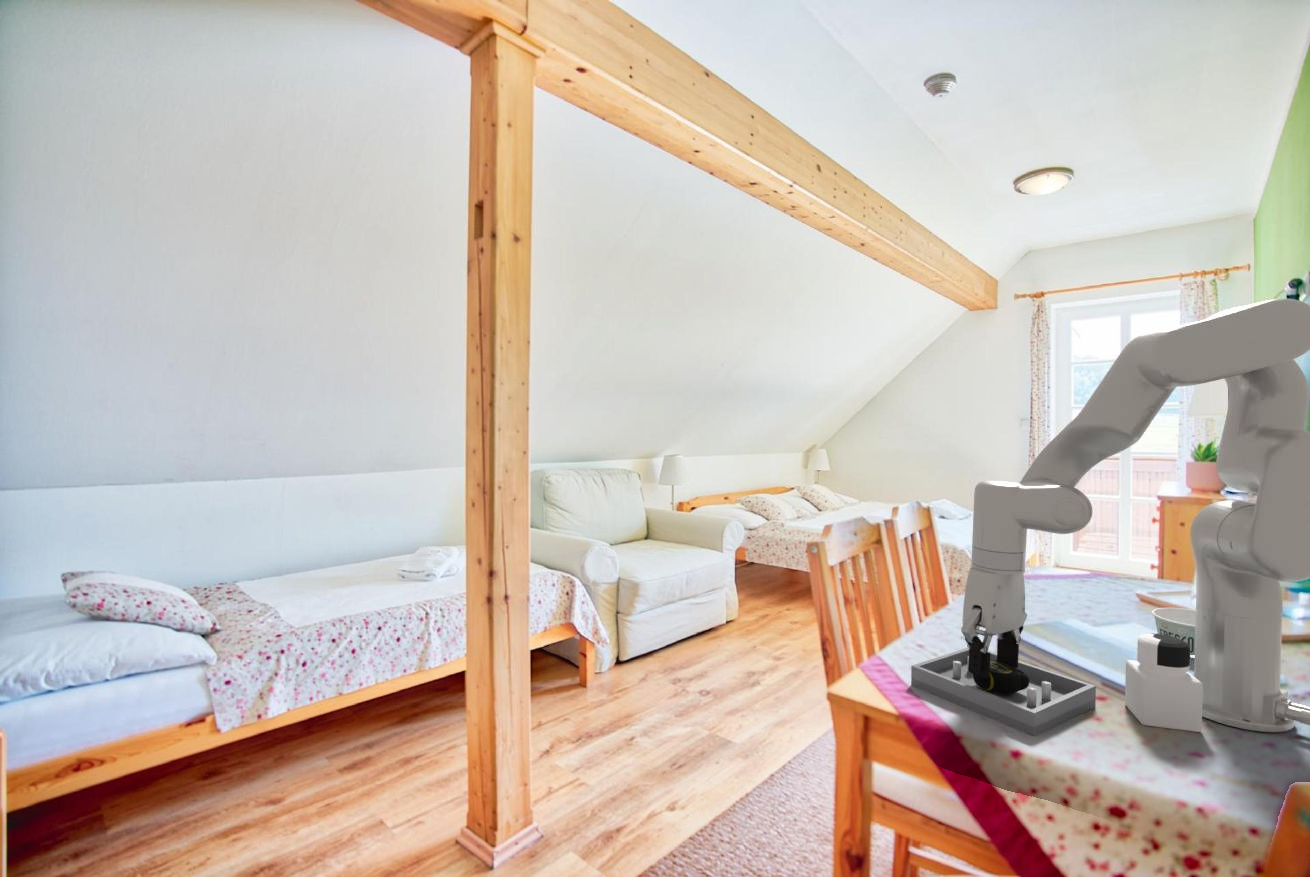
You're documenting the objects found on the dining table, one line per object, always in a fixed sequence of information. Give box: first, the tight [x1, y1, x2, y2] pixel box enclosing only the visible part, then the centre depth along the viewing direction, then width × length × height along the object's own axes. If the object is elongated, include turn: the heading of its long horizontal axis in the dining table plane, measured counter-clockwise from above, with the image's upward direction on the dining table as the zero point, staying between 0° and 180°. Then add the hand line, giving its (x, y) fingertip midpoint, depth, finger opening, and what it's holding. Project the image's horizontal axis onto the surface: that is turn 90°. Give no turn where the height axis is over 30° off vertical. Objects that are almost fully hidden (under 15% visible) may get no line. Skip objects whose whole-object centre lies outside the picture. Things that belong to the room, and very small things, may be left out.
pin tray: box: [910, 647, 1097, 737], centre depth 103 cm, size 20×17×4 cm
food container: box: [1151, 607, 1196, 655], centre depth 121 cm, size 12×12×6 cm
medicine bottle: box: [1124, 633, 1203, 733], centre depth 95 cm, size 7×7×12 cm
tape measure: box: [973, 659, 1029, 694], centre depth 102 cm, size 7×7×4 cm
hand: (993, 669), depth 103 cm, fingers open, 7 cm apart
